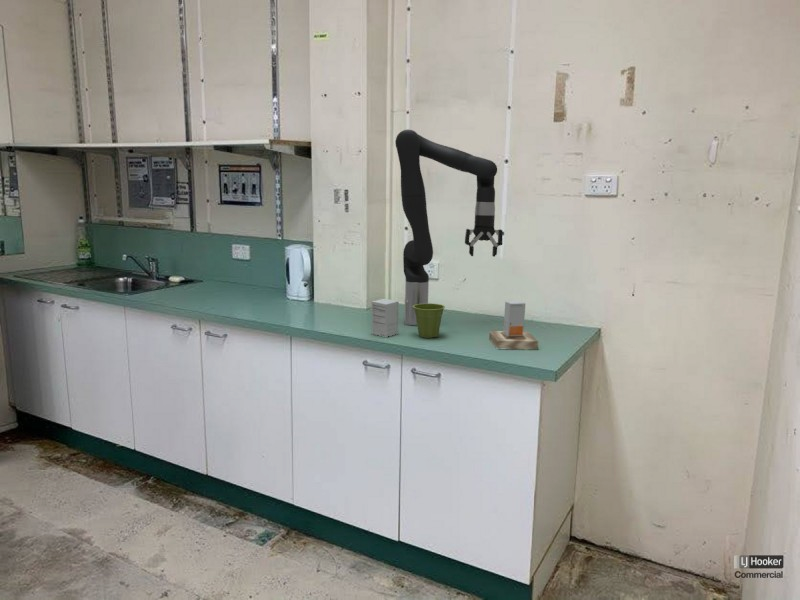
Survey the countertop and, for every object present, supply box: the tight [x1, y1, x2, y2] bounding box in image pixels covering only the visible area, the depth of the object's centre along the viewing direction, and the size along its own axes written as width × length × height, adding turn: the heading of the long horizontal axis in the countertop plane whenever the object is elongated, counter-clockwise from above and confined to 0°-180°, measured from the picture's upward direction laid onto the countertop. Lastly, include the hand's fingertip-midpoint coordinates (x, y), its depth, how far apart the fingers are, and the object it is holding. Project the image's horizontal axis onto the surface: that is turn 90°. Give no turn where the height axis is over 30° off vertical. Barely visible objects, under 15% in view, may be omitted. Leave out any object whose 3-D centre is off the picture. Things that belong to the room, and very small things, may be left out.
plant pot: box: [413, 302, 446, 339], centre depth 214 cm, size 12×12×11 cm
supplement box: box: [371, 298, 400, 338], centre depth 215 cm, size 7×7×13 cm
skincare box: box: [502, 300, 526, 337], centre depth 204 cm, size 6×4×12 cm
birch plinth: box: [488, 330, 539, 350], centre depth 206 cm, size 14×14×3 cm
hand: (482, 256), depth 226 cm, fingers open, 8 cm apart
